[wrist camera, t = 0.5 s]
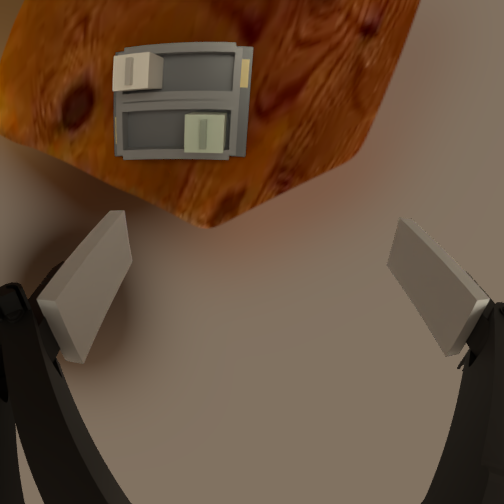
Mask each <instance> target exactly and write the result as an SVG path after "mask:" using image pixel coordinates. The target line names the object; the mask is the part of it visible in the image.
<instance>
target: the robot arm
mask: <svg viewBox="0 0 504 504" xmlns="http://www.w3.org/2000/svg"><path fill="white" fill-rule="evenodd" d="M132 262H133V261H132V255H131V249H130V243H129V237H128V231H127V224H126V217H125V211H124V210H118V211H109V212H108V213H107V214H106V216H105V217H104V218H103V219H102V220H101V221H100V222H99V223H98V224H97V225H96V226H95V228H94V229H93V230H92V231H91V232H90V233H89V234H88V235H87V237H86V238H85V239H84V240H83V241H82V242H81V243H80V245H79V246H78V247H77V248H76V249H75V250H74V252H73V253H72V254H71V255H70V256H69V258H68V259H67V260H66V261H65V262H63V261H62V262H61V263H60V264H58V265H57V266H55V267H54V268H52V270H51V271H50V272H49V273H48V275H47V276H46V278H44V280H43V281H42V283H41V284H40V285H39V286H38V287H37V289H36V290H35V291H34V293H33V294H32V295H31V297H30V298H29V299H27V297H26V295H25V292H24V290H23V287H22V286H21V284H19V283H8V284H5V285H3V286H1V287H0V504H25V503H24V498H23V492H22V487H21V480H20V473H19V465H18V457H17V444H16V429H15V428H16V427H15V423H16V426H17V430H18V434H19V437H20V440H21V444H22V447H23V450H24V453H25V456H26V459H27V462H28V465H29V467H30V470H31V473H32V475H33V478H34V481H35V483H36V485H37V487H38V490H39V492H40V495H41V497H42V499H43V501H44V504H131V503H130V501H129V500H128V498H127V497H126V495H125V494H124V492H123V491H122V489H121V488H120V486H119V485H118V483H117V482H116V480H115V478H114V477H113V475H112V474H111V472H110V470H109V469H108V467H107V465H106V463H105V462H104V460H103V458H102V457H101V455H100V453H99V451H98V449H97V447H96V446H95V444H94V442H93V440H92V438H91V436H90V434H89V432H88V430H87V428H86V426H85V424H84V422H83V420H82V418H81V415H80V413H79V411H78V409H77V407H76V404H75V402H74V400H73V397H72V395H71V393H70V390H69V388H68V385H67V383H66V380H65V377H64V375H63V372H62V369H61V367H60V364H59V362H58V361H57V358H56V356H57V354H58V352H59V350H61V352H62V354H63V356H64V358H65V360H66V361H71V362H76V363H82V364H84V362H85V359H86V357H87V355H88V352H89V350H90V348H91V345H92V343H93V341H94V338H95V336H96V334H97V332H98V330H99V328H100V326H101V323H102V321H103V319H104V317H105V315H106V313H107V311H108V309H109V307H110V305H111V303H112V301H113V299H114V297H115V294H116V293H117V291H118V289H119V287H120V285H121V283H122V281H123V279H124V277H125V275H126V273H127V271H128V269H129V268H130V265H131V264H132ZM387 266H388V268H389V269H390V271H391V272H392V273H393V275H394V276H395V278H396V279H397V280H398V282H399V284H400V285H401V286H402V288H403V289H404V291H405V292H406V294H407V295H408V297H409V298H410V300H411V301H412V303H413V304H414V306H415V307H416V309H417V311H418V312H419V314H420V315H421V317H422V318H423V320H424V321H425V323H426V325H427V326H428V328H429V330H430V331H431V333H432V335H433V336H434V338H435V339H436V341H437V343H438V344H439V346H440V348H441V350H442V351H443V353H444V354H445V356H446V357H447V356H452V355H456V354H459V353H460V351H461V350H462V348H463V347H464V345H465V343H467V344H468V346H469V350H468V352H467V353H466V355H465V356H464V358H463V359H462V361H461V362H460V364H459V365H458V367H457V369H460V367H461V366H462V365H464V368H463V370H462V371H463V375H462V380H461V385H460V390H459V395H458V399H457V404H456V408H455V412H454V416H453V420H452V423H451V427H450V431H449V434H448V437H447V441H446V444H445V447H444V450H443V453H442V456H441V459H440V462H439V465H438V467H437V470H436V473H435V475H434V478H433V480H432V483H431V485H430V488H429V490H428V493H427V495H426V497H425V499H424V500H423V502H422V503H421V504H504V303H502V302H497V303H496V304H495V303H494V302H493V301H492V300H491V298H490V297H489V296H488V295H487V294H486V293H485V291H484V290H483V289H482V288H481V287H480V286H478V284H477V282H476V281H475V280H473V278H472V277H471V276H470V275H469V274H468V273H467V272H466V271H465V270H464V269H463V268H462V267H461V266H460V265H459V264H458V263H457V262H456V261H455V260H454V259H453V258H452V257H451V256H450V255H449V254H448V253H447V252H446V251H445V250H444V249H443V248H442V247H441V246H440V245H439V244H438V243H437V242H436V241H435V240H434V239H433V238H432V237H431V236H430V235H429V234H428V233H426V231H424V230H423V229H422V228H421V227H420V226H419V225H418V224H417V223H416V222H415V221H414V220H412V219H410V218H399V221H398V225H397V229H396V233H395V237H394V240H393V244H392V248H391V251H390V255H389V259H388V262H387Z"/></svg>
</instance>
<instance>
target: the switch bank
mask: <svg viewBox="0 0 504 504" xmlns="http://www.w3.org/2000/svg"><path fill="white" fill-rule="evenodd" d="M142 52H151V53H154V54H156V55H158V56H160V57H163V58H164V63H163V81H162V89H150V90H137V91H114V149H115V156H123V160H134V159H213V160H229V156H241V157H245V155H246V140H247V125H248V111H249V97H250V84H251V70H252V57H253V47H245V46H236V42H183V43H166V44H153V45H143V46H135V47H127V48H125V49H124V51H123V52H116V55H115V56H118V55H125V54H133V53H142ZM191 112H227V125H226V144H225V148H224V151H223V153H191V152H184V132H185V115H186V114H188V113H191Z"/></svg>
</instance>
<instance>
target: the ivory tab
mask: <svg viewBox="0 0 504 504" xmlns="http://www.w3.org/2000/svg"><path fill="white" fill-rule="evenodd" d="M163 63H164V58H163V57H160V56H158V55H156V54H154V53H151V52H142V53H133V54H125V55H118V56H114V64H113V88H112V91H137V90H150V89H162V81H163Z"/></svg>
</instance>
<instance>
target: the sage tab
mask: <svg viewBox="0 0 504 504" xmlns="http://www.w3.org/2000/svg"><path fill="white" fill-rule="evenodd" d="M226 125H227V112H191V113H188V114H186V115H185V132H184V152H191V153H223V151H224V148H225V144H226Z"/></svg>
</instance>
